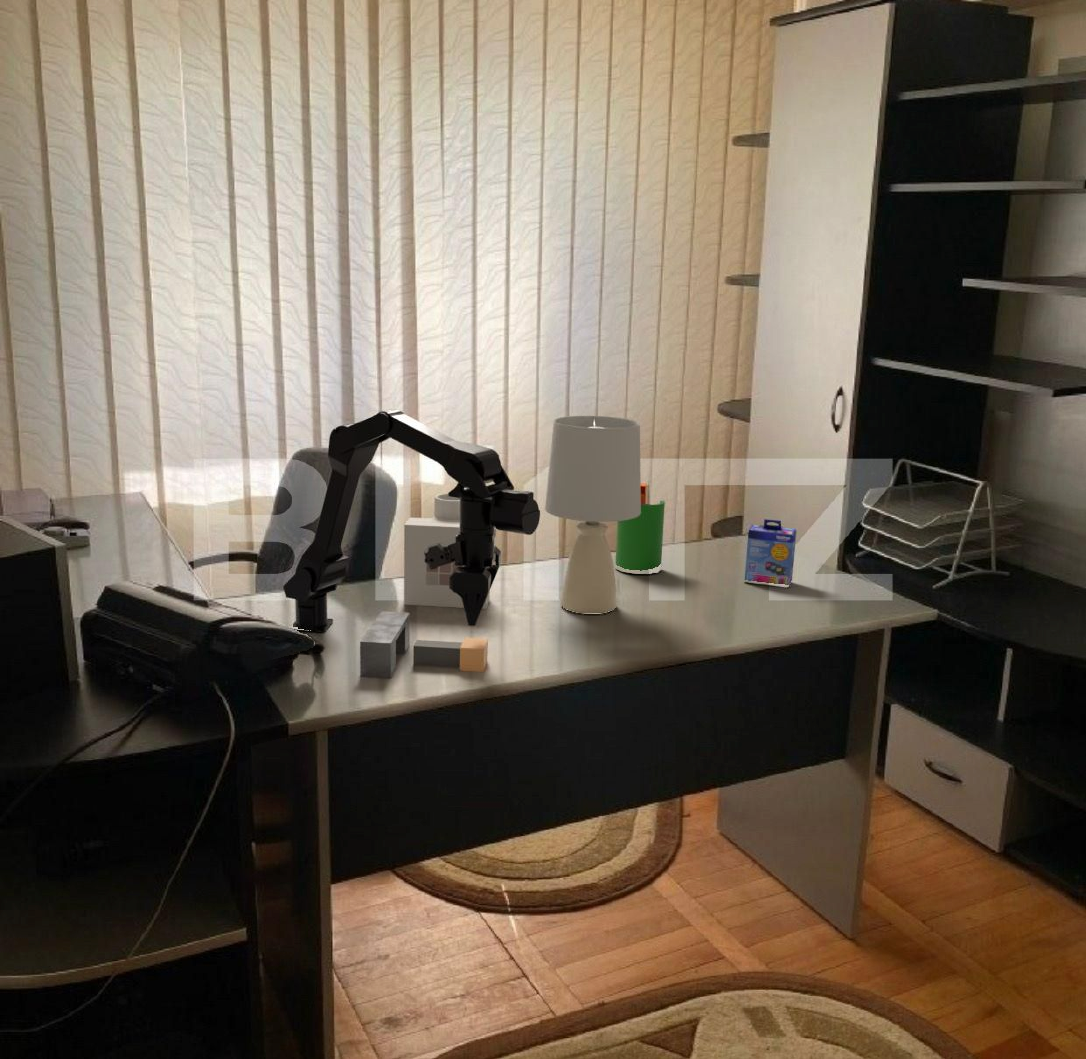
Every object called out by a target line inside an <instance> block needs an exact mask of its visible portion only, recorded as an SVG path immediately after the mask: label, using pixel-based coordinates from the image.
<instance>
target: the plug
mask: <svg viewBox="0 0 1086 1059" xmlns="http://www.w3.org/2000/svg"><path fill="white" fill-rule="evenodd" d="M488 643H489V639H488V638H487V639H486V638H473V637H472V638H471V637H464V638H463V640H462V642H458V641H442V640H441V641H439V640H425V639H421V640H420V639H416V640H415V643H414V644H413V649H412V650H413V651H412V652H413V654H412V655H413V657H412V658H413V660H412V661H413V666H414V667H415V666H417V667H433V668H450V669H451V668H453V669H459V671H463V672H480V673H481V672H483V673H484V671H485V669H486V666H487V663H488V654H489V652H488V649H489V648H488V645H489V644H488Z"/></svg>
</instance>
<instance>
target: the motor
mask: <svg viewBox="0 0 1086 1059" xmlns="http://www.w3.org/2000/svg"><path fill="white" fill-rule="evenodd" d="M646 501H647V483H641V514H640V515H639V516H638V517H636V518H633V519H629V520H623V521H616V522H617V524H616V526H617V528H616V542H615V544H616V545H615V546H616V548H615V564H616V565H617V566H620V567H622V568H624V569H629V570H640V571H642V570H648V569H653V568H655V567H658V566H659V565H660V564H661V565H662V556H663V554H662V553H663V543H664V542H663V540H664V539H663V538H664V521H665V506H666V505H665V504H666V501H665V500H660V502H659V503H656V504H650V503H647V502H646Z"/></svg>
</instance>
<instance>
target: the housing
mask: <svg viewBox="0 0 1086 1059" xmlns="http://www.w3.org/2000/svg"><path fill="white" fill-rule="evenodd" d="M410 614H411V612H403V611H402V612H398V611H386V610H385V611H384V610H383V611H380V613H379V614H378V616H377V617H376V619H375V620H374V622H372V624H371V626H370V627H369V629H367V630H366V632H365V634H364V635H363V637H362V638H361V639H360V641H359V658H360V659H359V660H360V661H359V662H360V663H359V668H360V670H359V672H360V673H359V675H360V676H359V677H363V678H379V679H392V677H393V675H394V673H395V671H396V668H397V667H396V666H397V664H396V661H397V657H396V656H397V655H396V653H399V654H405V653H406V652H407V650H409V648H410V638H411V636H410V635H411V634H410V632H411V631H410V630H411V628H410V627H411V626H410V625H411V623H410V621H411V620H410V619H411V617H410V616H411V615H410Z"/></svg>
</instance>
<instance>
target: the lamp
mask: <svg viewBox="0 0 1086 1059" xmlns="http://www.w3.org/2000/svg"><path fill="white" fill-rule="evenodd" d="M552 425H553V426H552V435H551V436H552V437H551V444H550V455H549V464H548V466H549V467H548V473H547V474H548V476H547V485H546V495H545V506H544V510H545V512H547V513H548V514H549V515H551V516H554V517H557V518H562V519H566V520H570V521H571V520H572V521H579V523H578V524H577V525H576V529H577V530H578V532H579V533H578V536H577V538H576V540H575V541H574V544H573V545H572V548H571V552H570V555H569V557H568V561H567V565H566V569H565V575H564V579H563V585H562V588H561V590H562V591H561V597H560V606H561V607H562V606H563V607H564V608H565V609H568V610H570V611H574V612H578V613H605V612H608V611H611V610H613V609H615V608H616V609H617V607H618V606H617V604H618V598H617V585H616V577H615V567H614V561H613V556H612V552H611V548H610V545H609V543H608V541H607V539H606V535H605V533H606V532H607V530H608V525H607V524H605V523H612V522H618V521H623V520H629V519H633V518H636V517H638V516H639V515H640V514H641V484H642V483H641V424H640V423H639V421H637V420H633V419H629V418H624V417H623V418H622V417H615V416H604V415H603V416H601V415H569V416H562V417H557V418H554V420H553V424H552ZM564 608H563V609H564ZM565 609H564V610H565ZM616 609H615V610H616Z"/></svg>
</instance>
